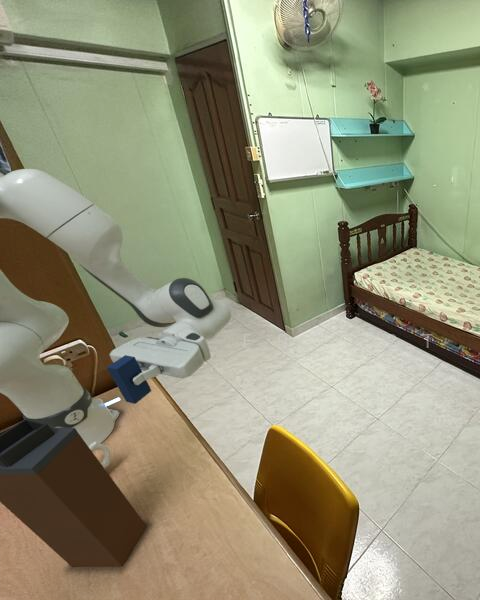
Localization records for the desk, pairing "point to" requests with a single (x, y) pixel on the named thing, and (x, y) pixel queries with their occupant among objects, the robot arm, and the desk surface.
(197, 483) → the desk surface
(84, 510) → the tall brown bin
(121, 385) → the small dark blue block
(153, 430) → the desk surface
